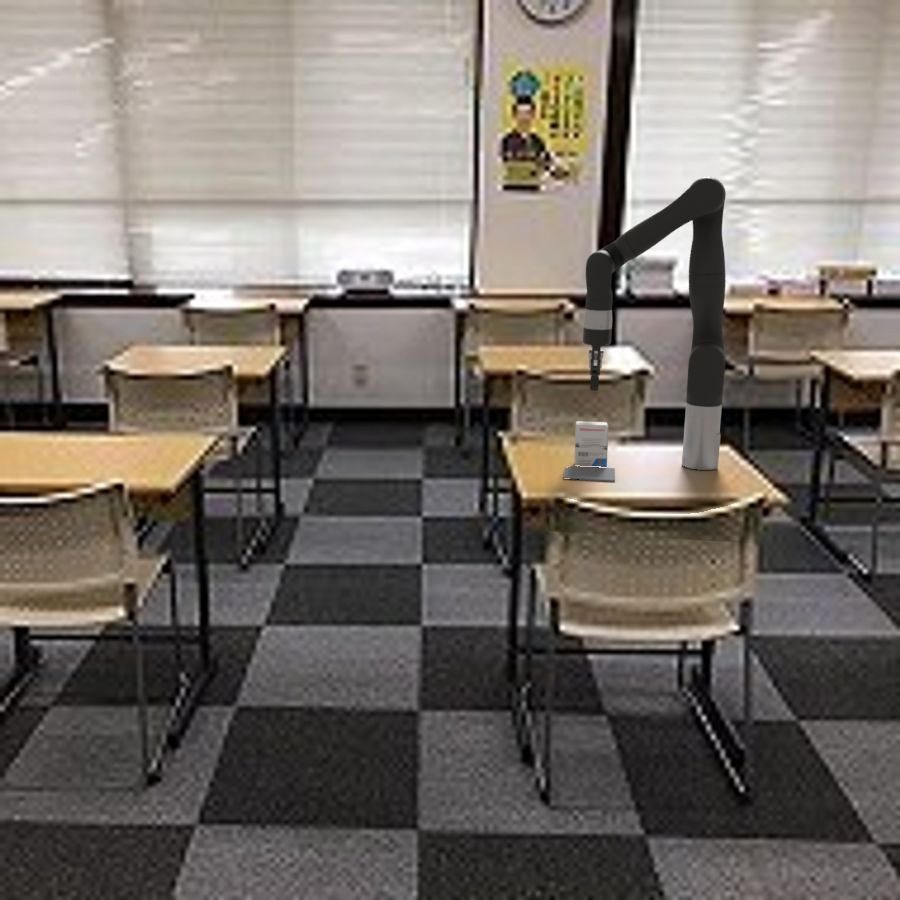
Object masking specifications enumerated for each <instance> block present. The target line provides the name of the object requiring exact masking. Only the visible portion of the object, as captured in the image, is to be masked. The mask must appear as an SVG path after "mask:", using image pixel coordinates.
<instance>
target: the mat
mask: <svg viewBox="0 0 900 900" xmlns="http://www.w3.org/2000/svg"><path fill="white" fill-rule="evenodd" d="M569 466H570V467H568V468H565V467H564V473H563V477H562V478H570V479H579V480H578V481H585V480H588V481H589V482H604V481H607V483H608V482H609V483H616V472H615V471H616V468H615V467H607V468H599V467H580V466H578V467H577V466H575V465H569ZM588 481H587V482H588Z"/></svg>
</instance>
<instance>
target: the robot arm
mask: <svg viewBox="0 0 900 900" xmlns="http://www.w3.org/2000/svg"><path fill="white" fill-rule="evenodd" d="M726 194H727V192H726V188H725V186H724V184H723V183H722V182H721V181H720V180H719V179H717V178H715V177H712V176H703V177H700V178H697V179H695V181H693V182H692V183H691V185H690V186H689V187H688V188H687V189H686V190H685V191H684V192H682V194H681V195H679V196H678V197H677V198H676V199H675V200H674V201H672V202H671V203H670V204H668V205H667V206H666V207H664V208H662V209H661V210H659V211H658V212H656V213H655V214H653V215H651V216H649V217H648V218H646V219H644V220H642V221H640V222H639V223H638V224H636V225H634V226H632V227H631V228H630V229H628V230H626V232H624V233H623V234H621V235H619V236H618V237H617V238H616V240H614V241H613V242H611V243H609V244H607V245H605V246H604V247H602V248H601V249H599V250H597V251H594V252H593V253H591V254H590V255H589V256H588V258H587V260H586V264H585V284H586V294H585V310H584V316H583V326H582V327H583V329H582V333H583V334H582V343H583V344H584V345H588V346H591V347H592V348H591V349H589V350H588V358H589V359H588V361H589V362H588V368H589V369H590V370H589V377H590V380H589V381H590V384H589V389H590V391H595V392H596V391H599V380H600V377H601V369H602V367H603V359H604V352H605V351H604V350H602V349H601V348H602V346H605V347H606V346H609V345H610V344H611V343H612V330H613V328H612V327H613V290H612V276H613V273H614V272H616V271H617V270H619V269H620V268H621V267H623V266H624V265H625V264H627V263H628V262H630V261H632V260H634V259H635V258H637V257H639V256H641V255H642V254H644V253H645V252H647V251H649V250H650V249H652V248H653V247H654V246H656V245H658V244H659V243H660V242H661V241H663V240H664V239H666V237H668V236H669V235H671V234H672V233H673V232H675V231H676V230H678V229H679V228H681V227H682V226H684V225H686V224H688V223H690V222H691V223H692V241H691V245H690V246H691V247H690V253H689V264H688V295H689V303H690V310H691V315H692V328H693V330H692V339H691V340H692V342H691V348H690V355H689V357H688V358H689V359H688V366H687V368H688V369H687V381H686V382H687V383H686V384H687V385H686V400H685V413H684V414H685V415H684V416H685V417H684V426H683V427H684V429H683V440H682V441H683V444H682V455H681V465H683V466H682V467H684V466H685V467H684V468H686V467H687V469H691V470H695V469H697V471H711V470H719V458H720V448H721V447H720V445H721V431H720V430H721V423H722V422H721V419H722V408H723V397H724V396H723V395H724V383H725V373H726V372H725V370H726V352H725V347H724V340H723V326H722V323H723V321H722V320H723V314H724V306H725V297H726V259H725V248H724V241H723V240H724V239H723V219H724V209H725V202H726V198H727V197H726Z"/></svg>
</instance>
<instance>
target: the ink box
mask: <svg viewBox="0 0 900 900" xmlns="http://www.w3.org/2000/svg"><path fill="white" fill-rule="evenodd" d="M574 435H575V436H574V466H575V465H580V466H601V467H607V468H608V446H609V424H608V422H607V421H581V420H579V421H578V420H577V421H575V433H574Z"/></svg>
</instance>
